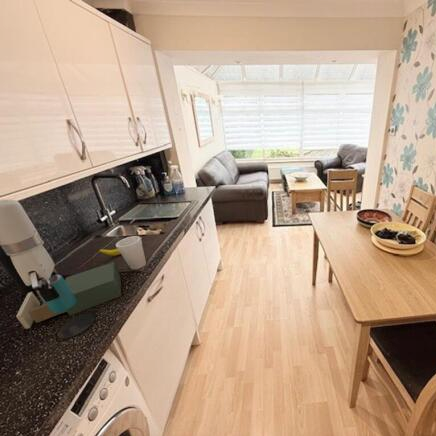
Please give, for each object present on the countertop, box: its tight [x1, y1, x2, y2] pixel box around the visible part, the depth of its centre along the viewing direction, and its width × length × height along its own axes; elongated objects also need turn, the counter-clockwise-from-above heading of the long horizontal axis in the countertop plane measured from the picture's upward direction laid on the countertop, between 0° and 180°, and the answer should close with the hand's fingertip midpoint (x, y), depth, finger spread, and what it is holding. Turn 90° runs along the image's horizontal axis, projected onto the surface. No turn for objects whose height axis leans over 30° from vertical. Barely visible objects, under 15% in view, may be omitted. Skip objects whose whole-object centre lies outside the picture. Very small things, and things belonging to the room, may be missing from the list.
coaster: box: [56, 312, 96, 340], centre depth 80 cm, size 10×10×1 cm
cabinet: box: [64, 261, 122, 317], centre depth 93 cm, size 16×15×8 cm
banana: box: [97, 236, 143, 256], centre depth 121 cm, size 3×19×6 cm, turn 131°
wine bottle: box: [0, 246, 44, 297], centre depth 93 cm, size 8×8×30 cm
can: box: [36, 274, 77, 314], centre depth 74 cm, size 6×6×10 cm
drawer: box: [15, 292, 67, 330], centre depth 87 cm, size 16×14×6 cm
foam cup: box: [115, 235, 147, 270], centre depth 108 cm, size 10×9×13 cm
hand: (55, 292), depth 74 cm, fingers closed on can, 6 cm apart
